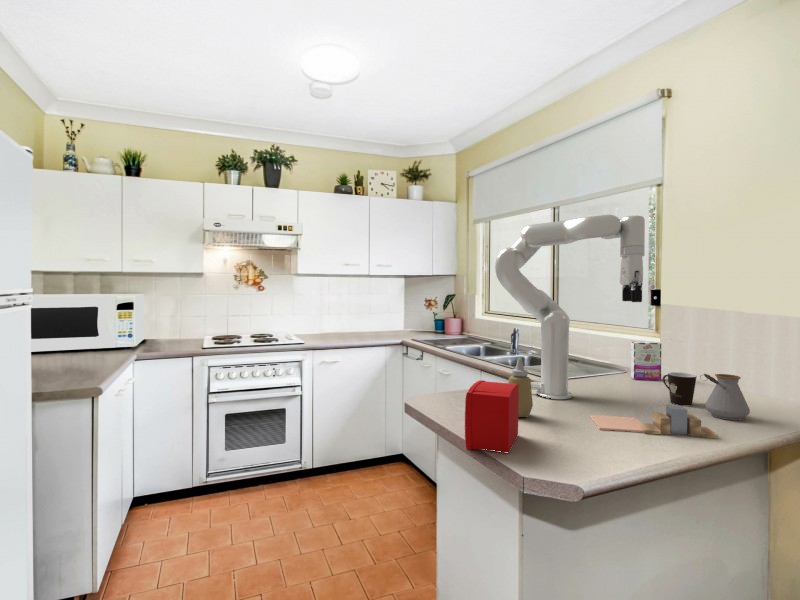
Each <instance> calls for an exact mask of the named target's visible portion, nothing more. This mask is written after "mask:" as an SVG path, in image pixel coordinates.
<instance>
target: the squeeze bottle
mask: <svg viewBox="0 0 800 600" xmlns="http://www.w3.org/2000/svg"><path fill="white" fill-rule="evenodd" d="M507 383H511V384H519V414H518V417H526V418H528V417H527V416H529V417H530V414H531V412H532V409H533V406H534V403H533V393H532V389H531V384H532V381H531V378H530V377H529V376H528V370H527V369H525V368H524V362H523V358H522V357H518V358H517V361H516V365H515V368H513V369H511V376H509V378H508V382H507Z"/></svg>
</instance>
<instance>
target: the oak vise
mask: <svg viewBox="0 0 800 600" xmlns="http://www.w3.org/2000/svg"><path fill="white" fill-rule="evenodd" d="M652 414H653V416H652V423H647V422H645V423H644V422H641V423H637V424H638V425H639V426H640V427H641V428H642V429H643V430H644V434H645V433H649V434H648V435H655V434H661V435H663V434H670V424H671V419H670V418H669V417H668V416H667V415H666V413H664V412H658V411H653V413H652ZM688 434H689V435H688ZM670 435H671V434H670ZM687 435H688V436H690V437H694V436H700V437H699V438H702V437H707V438H706V439H716V440H717V439H719V434H718V433H716V432H715V431H713V430H712V429H710V428H709V427H707V426H702V420H701V419H700V418H698V417H697V416H695V415H694V414H691V413H687Z"/></svg>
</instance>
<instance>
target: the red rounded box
mask: <svg viewBox="0 0 800 600" xmlns="http://www.w3.org/2000/svg"><path fill="white" fill-rule="evenodd" d="M464 409H465V410H464V441H465V449H466V450H472V449H473V450H478V451H479V450H480V449H485V450H486V449H487V450H495V451H501V452H509V451H510V452H511V450H512V448H513V446H514V444H515V442H516V440H517V438H518V436H519V418H518V414H519V384H511V383H508V382H498V381H486V380H476V382H474V383H473V384H472V385H471V386H470V387H469V389H468V391H467V392H466V394H465V407H464ZM517 435H518V436H517ZM516 437H517V438H516ZM515 439H516V440H515ZM514 441H515V442H514ZM513 443H514V444H513ZM512 445H513V446H512ZM511 447H512V448H511ZM510 449H511V450H510ZM485 450H484V451H485ZM480 451H481V450H480ZM510 452H509V453H510Z"/></svg>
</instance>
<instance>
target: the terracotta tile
mask: <svg viewBox="0 0 800 600" xmlns="http://www.w3.org/2000/svg"><path fill="white" fill-rule="evenodd" d="M589 416H590V419H591V420H592V421H594V422H593V423H594V424H595V426H596V425H597V426H596V427H597V429H598V430H599V431H609V430H615V431H614V432H625V431H631V432H630V433H641V432H644V430H643V429H642V428H641V427H640V426H639V425H638V424H637V423H642V422H641V421H640V420H639V419H637V417H631V416H630V417H627V416H615V415H614V416H611V415H610V416H609V415H594V414H593V415H591V414H590V415H589Z"/></svg>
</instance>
